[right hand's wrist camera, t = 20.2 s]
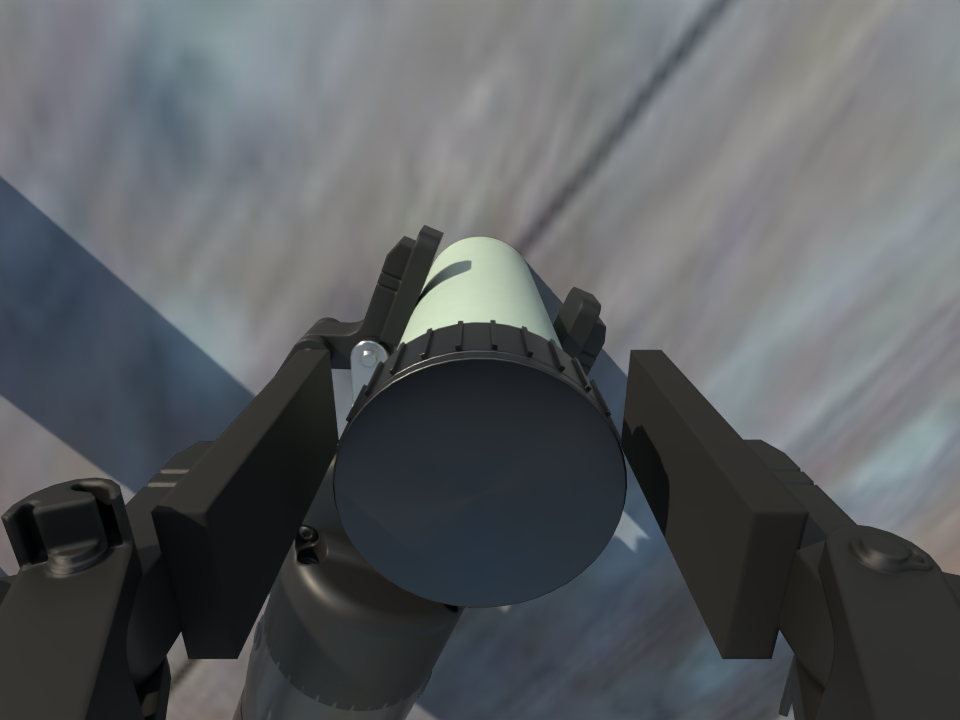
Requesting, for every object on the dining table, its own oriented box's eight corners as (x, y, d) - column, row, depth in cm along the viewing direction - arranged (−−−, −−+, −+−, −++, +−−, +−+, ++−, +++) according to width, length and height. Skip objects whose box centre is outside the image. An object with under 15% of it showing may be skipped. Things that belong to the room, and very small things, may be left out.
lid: (301, 447, 12) (267, 504, 10) (469, 260, 11) (467, 285, 9) (487, 580, 13) (489, 653, 12) (659, 431, 12) (694, 485, 10)
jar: (528, 343, 26) (586, 576, 12) (425, 337, 26) (359, 566, 12) (537, 239, 24) (620, 365, 10) (427, 233, 24) (353, 351, 10)
